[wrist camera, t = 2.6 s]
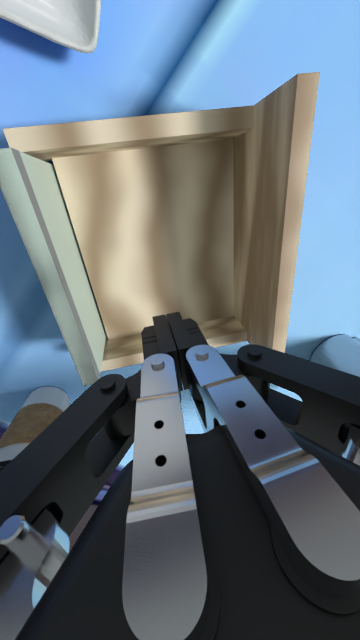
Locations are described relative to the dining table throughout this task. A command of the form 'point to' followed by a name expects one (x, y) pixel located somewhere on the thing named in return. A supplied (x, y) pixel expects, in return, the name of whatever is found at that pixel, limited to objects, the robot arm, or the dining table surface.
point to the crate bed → (187, 214)
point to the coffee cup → (32, 421)
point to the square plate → (57, 20)
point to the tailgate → (55, 256)
